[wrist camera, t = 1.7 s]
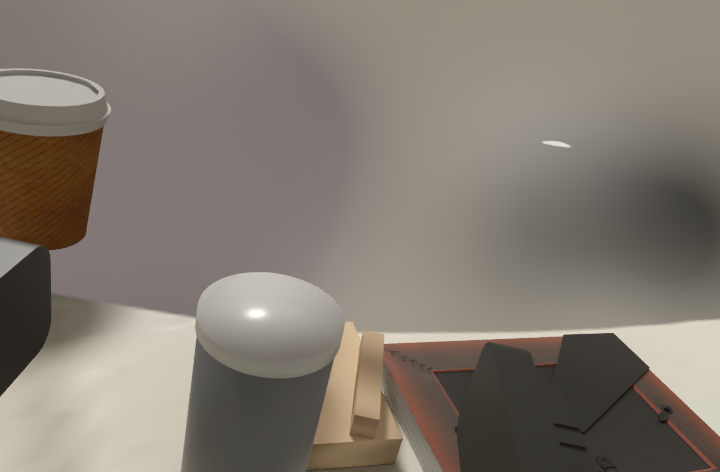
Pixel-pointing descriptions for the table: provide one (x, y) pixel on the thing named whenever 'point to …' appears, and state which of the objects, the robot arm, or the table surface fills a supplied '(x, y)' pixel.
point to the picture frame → (576, 383)
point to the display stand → (355, 408)
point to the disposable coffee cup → (48, 154)
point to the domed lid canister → (259, 373)
